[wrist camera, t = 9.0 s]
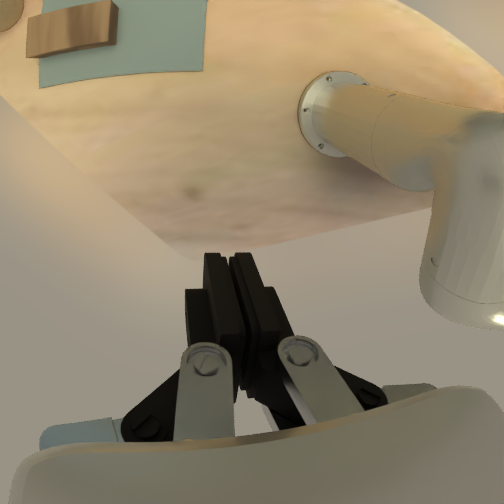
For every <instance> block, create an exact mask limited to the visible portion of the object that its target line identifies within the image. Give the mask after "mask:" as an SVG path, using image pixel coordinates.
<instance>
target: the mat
mask: <svg viewBox="0 0 504 504" xmlns="http://www.w3.org/2000/svg"><path fill="white" fill-rule="evenodd" d="M99 1H105V0H43V7H42V14H44V13H48V12H52V11H56V10H60V9H64V8H68V7H73V6H77V5H82V4H88V3H93V2H99ZM112 1H113V2H114V3H115V4H116V5H117V6H118V8H119V14H118V27H117V45H111V46H104V47H97V48H90V49H84V50H79V51H73V52H68V53H63V54H59V55H54V56H50V57H45V58H39V88H44V87H48V86H53V85H58V84H63V83H69V82H74V81H80V80H86V79H93V78H100V77H108V76H116V75H126V74H137V73H150V72H169V71H202V65H203V48H204V32H205V19H206V6H207V0H112Z"/></svg>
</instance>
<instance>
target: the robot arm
mask: <svg viewBox="0 0 504 504" xmlns="http://www.w3.org/2000/svg"><path fill="white" fill-rule="evenodd" d="M326 78H328V80H326ZM304 108H305V109H306V110H305V111H303V110H304ZM298 120H299V125H300V129H301V131H302V133H303V136H304V137H305V139H306V140H307V142H308V143H309V144H310V145H311V146H312V147H313V148H315V149H316V150H317V151H319V152H321V153H323V154H325V155H327V156H331V157H338V158H342V157H348V156H349V157H351V158H352V159H354V160H356V161H357V162H359V163H361V164H362V165H364V166H366V167H367V168H369V169H370V170H372V171H374V172H375V173H377V174H378V175H380V176H381V177H383V178H385V179H386V180H388V181H389V182H391V183H392V184H394V185H396V186H397V187H399V188H402V189H404V190H407V191H414V192H422V191H428V190H432V189H434V198H433V205H432V215H431V219H430V225H429V230H428V234H427V239H426V243H425V248H424V253H423V257H422V262H421V267H420V274H419V283H420V289H421V293H422V295H423V297H424V299H425V301H426V302H427V303H428V305H429V306H430V307H431V308H432V309H433V310H434V311H435V312H437V313H438V314H440V315H441V316H443V317H444V318H446V319H448V320H450V321H453V322H455V323H458V324H462V325H465V326H469V327H475V328H481V329H489V330H496V331H504V113H501V112H496V111H490V110H483V109H476V108H468V107H462V106H456V105H451V104H446V103H441V102H437V101H433V100H429V99H425V98H421V97H417V96H413V95H409V94H405V93H400V92H396V91H391V90H387V89H382V88H377V87H371V86H370V85H369V83H368V82H366V81H365V80H364V79H363V78H362V77H360V76H358V75H356V74H353V73H350V72H346V71H332V72H328V73H325V74H322V75H320V76H318V77H317V78H316V79H314V80H313V81H312V82H311V83H310V84H309V85H308V86H307V88H306V89H305V91H304V93H303V94H302V97H301V100H300V103H299V109H298ZM319 144H320V146H318V145H319ZM185 316H186V317H185V318H186V332H187V341H188V348H187V349H186V350H185V351H184V352H183V354H182V357H181V364H180V369H179V370H178V371H176V372H175V373H174V374H173V375H172V376H171V377H170V378H168V379H167V380H166V381H165V382H164V383H163V384H161V385H160V386H159V387H158V388H157V389H156V390H154V391H153V392H152V393H151V394H150V395H148V397H146V398H145V399H144V400H143V401H141V402H140V403H139V404H138V405H137V406H135V407H134V408H133V409H132V410H131V411H130V412H128V413H127V414H126V416H125V417H124V418H121V419H115V420H112V418H111V417H110V418H104V419H97V420H92V421H84V422H77V423H69V424H61V425H54V426H51V427H48V428H47V429H46V430H44V431H43V433H42V435H41V437H40V442H39V446H40V451H39V452H36V453H34V454H32V455H30V456H29V457H27V458H25V459H24V460H23V461H22V462H21V463H20V465H19V466H18V468H17V470H16V472H15V475H14V477H13V480H12V485H11V489H10V495H9V503H8V504H504V412H503V411H502V409H501V408H500V407H499V405H498V404H497V403H496V401H495V400H494V399H493V398H492V397H491V396H490V395H489V394H488V393H487V392H486V391H484V390H482V389H480V388H477V387H472V386H450V387H444V388H439V389H437V388H436V387H435V386H433V385H431V384H426V383H421V384H406V385H385V386H383V387H382V388H379V387H378V386H376V385H374V384H372V383H370V382H368V381H366V380H364V379H362V378H359V377H357V376H355V375H353V374H351V373H348V372H346V371H344V370H342V369H340V368H338V367H336V366H334V365H333V364H332V362H331V361H330V360H329V358H328V357H327V355H326V354H325V352H324V351H323V349H322V348H321V346H320V345H319V344H318V343H317V342H315V341H314V340H312V339H310V338H308V337H305V336H299V335H296V336H295V335H294V333H293V331H292V328H291V326H290V324H289V321H288V319H287V317H286V314H285V312H284V310H283V307H282V305H281V303H280V300H279V298H278V296H277V293H276V291H275V289H274V288H273V287H264V285H263V282H262V280H261V277H260V275H259V272H258V269H257V267H256V265H255V262H254V259H253V257H252V254H251V253H235V255H234V257H230V258H229V265H228V263H227V259H226V257H221V254H220V253H205V254H204V270H203V289H186V290H185ZM238 386H240V389H241V390H246V393H247V397H248V398H255V400H256V401H258V402H260V403H262V408H263V412H264V414H265V416H266V418H267V420H268V422H269V424H270V426H271V428H272V430H273V432H267V433H260V434H254V435H246V436H238V437H235V430H234V403H235V402H236V398H237V392H238Z"/></svg>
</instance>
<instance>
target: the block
mask: <svg viewBox="0 0 504 504" xmlns="http://www.w3.org/2000/svg"><path fill="white" fill-rule="evenodd" d="M118 14H119V8H118V6H117V5H116V4H115V3H114V2H113V1H112V0H105V1H99V2H93V3H88V4H82V5H77V6H73V7H68V8H64V9H60V10H56V11H52V12H48V13H44V14H41V15H37V16H34V17H30V18H28V26H27V41H26V58H45V57H50V56H54V55H59V54H63V53H68V52H73V51H79V50H84V49H90V48H97V47H104V46H111V45H117V27H118Z"/></svg>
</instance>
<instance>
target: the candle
mask: <svg viewBox="0 0 504 504" xmlns="http://www.w3.org/2000/svg"><path fill="white" fill-rule="evenodd" d="M23 6H24V4H23V0H0V31H5V30H7V29H9V28H11V27H12V26H13V25H14V24H15V23H16V22H17V21H18V19H19V18H20V16H21V14H22V11H23Z"/></svg>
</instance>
